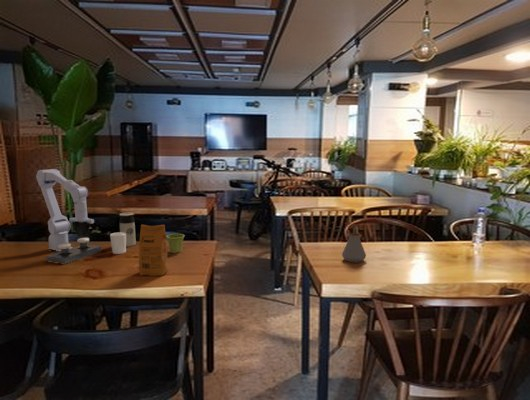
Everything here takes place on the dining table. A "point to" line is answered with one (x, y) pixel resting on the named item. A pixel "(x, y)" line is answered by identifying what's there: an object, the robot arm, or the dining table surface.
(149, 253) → the coffee package
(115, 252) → the white cup
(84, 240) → the knob
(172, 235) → the plant pot
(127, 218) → the travel mug
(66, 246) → the knob
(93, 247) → the knob mount
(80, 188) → the robot arm
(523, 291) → the dining table surface
